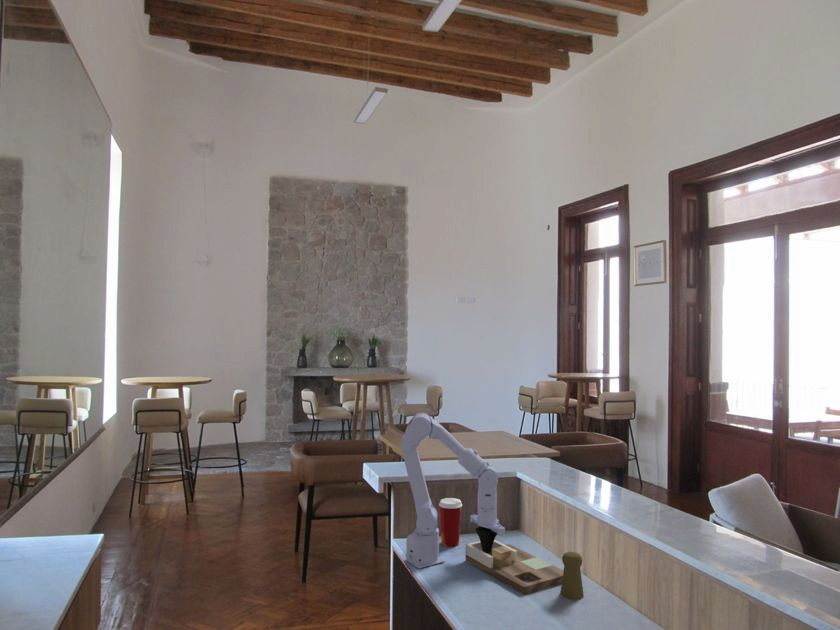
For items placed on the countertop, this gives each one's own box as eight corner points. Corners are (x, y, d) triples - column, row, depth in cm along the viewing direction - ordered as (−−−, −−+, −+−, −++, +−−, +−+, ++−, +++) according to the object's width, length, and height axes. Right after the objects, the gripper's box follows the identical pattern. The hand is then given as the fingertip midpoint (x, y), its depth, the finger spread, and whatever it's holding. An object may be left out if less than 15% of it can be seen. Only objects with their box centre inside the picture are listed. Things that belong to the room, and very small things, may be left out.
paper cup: (467, 543, 201) (467, 500, 201) (451, 550, 196) (452, 505, 196) (448, 537, 207) (448, 495, 207) (433, 543, 201) (433, 500, 201)
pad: (535, 576, 176) (535, 569, 176) (519, 568, 182) (519, 561, 182) (552, 572, 180) (552, 565, 180) (536, 563, 186) (536, 557, 186)
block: (500, 567, 178) (500, 553, 178) (491, 562, 181) (492, 548, 181) (511, 564, 180) (511, 550, 180) (502, 559, 183) (502, 546, 183)
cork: (570, 601, 161) (571, 559, 161) (555, 592, 166) (555, 551, 166) (588, 597, 164) (588, 555, 164) (573, 588, 169) (573, 547, 169)
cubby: (490, 568, 177) (490, 557, 177) (465, 554, 187) (465, 544, 187) (517, 561, 182) (517, 550, 182) (491, 548, 193) (491, 538, 193)
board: (524, 594, 165) (524, 587, 165) (465, 560, 187) (465, 554, 187) (570, 580, 174) (570, 573, 174) (509, 550, 196) (509, 543, 196)
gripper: (513, 511, 183) (512, 557, 182) (483, 498, 195) (482, 542, 195) (494, 515, 179) (494, 562, 179) (464, 502, 191) (464, 546, 191)
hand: (486, 552), depth 187 cm, fingers closed
